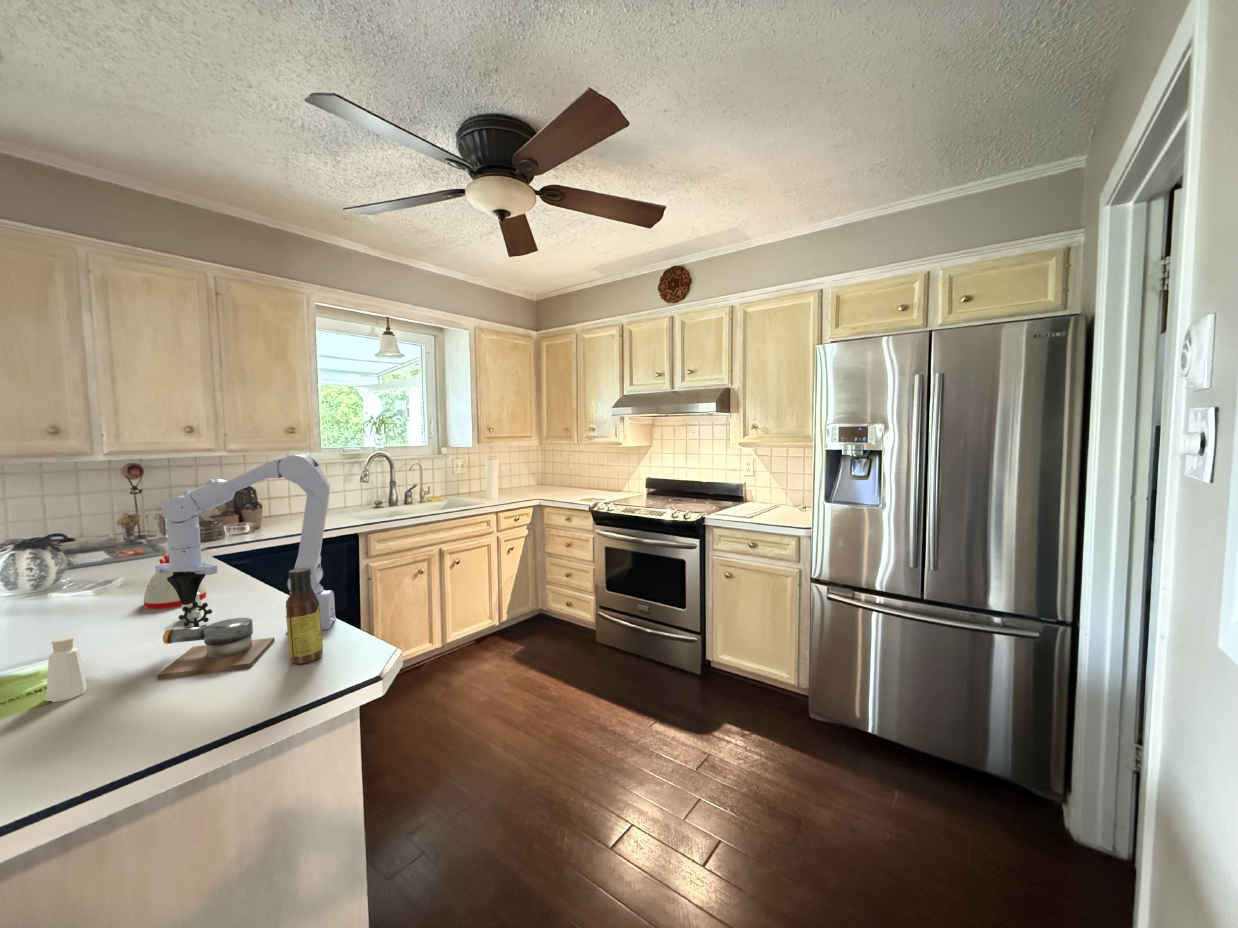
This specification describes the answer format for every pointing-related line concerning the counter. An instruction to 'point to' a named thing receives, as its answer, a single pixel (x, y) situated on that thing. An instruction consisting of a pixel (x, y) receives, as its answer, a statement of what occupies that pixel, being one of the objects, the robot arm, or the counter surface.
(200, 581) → the robot arm
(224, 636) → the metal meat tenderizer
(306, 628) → the sauce bottle
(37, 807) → the counter surface
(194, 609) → the valve
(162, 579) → the white and red dome
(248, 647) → the thin wooden panel
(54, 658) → the pepper shaker
